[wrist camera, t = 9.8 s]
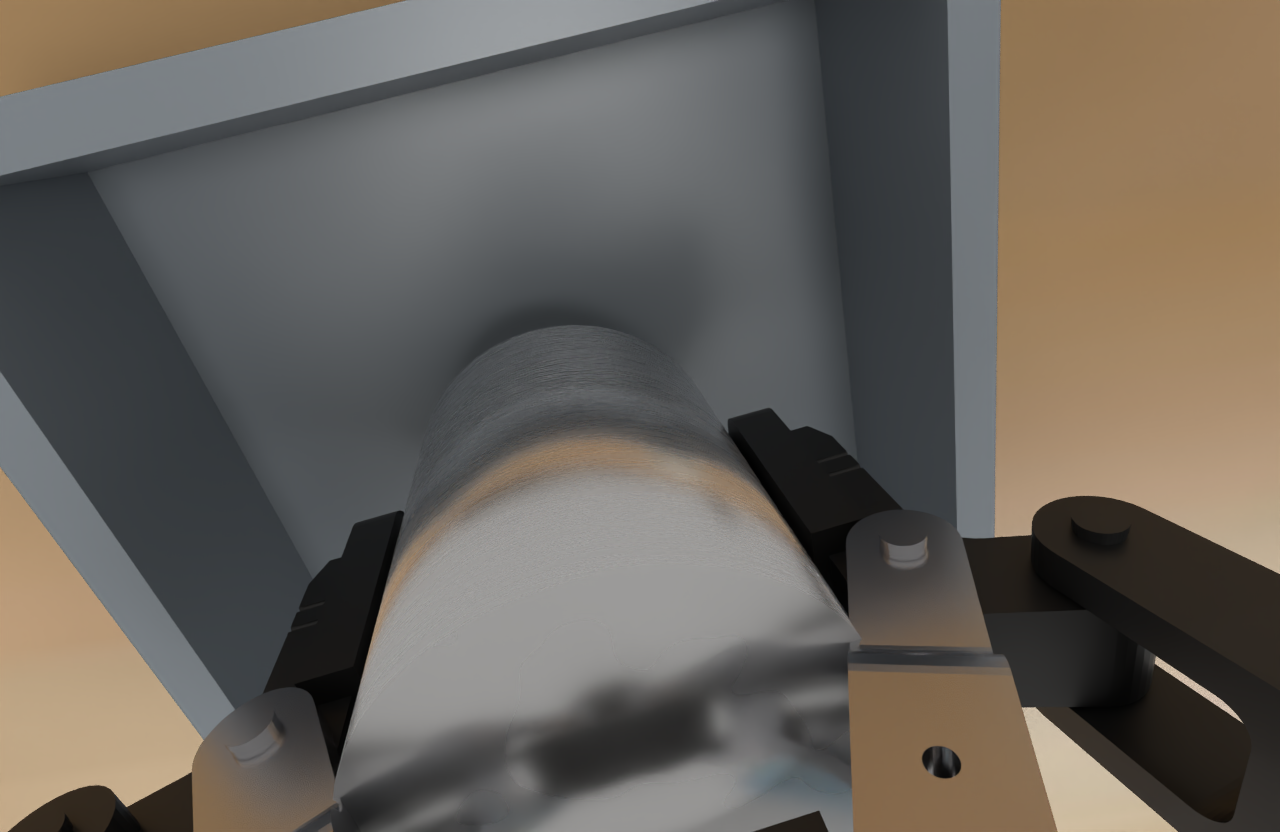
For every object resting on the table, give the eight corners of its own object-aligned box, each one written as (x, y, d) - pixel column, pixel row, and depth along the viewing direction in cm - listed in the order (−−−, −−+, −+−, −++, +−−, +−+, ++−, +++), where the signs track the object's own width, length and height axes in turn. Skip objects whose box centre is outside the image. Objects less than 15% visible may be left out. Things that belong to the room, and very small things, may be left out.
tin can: (687, 289, 12) (879, 491, 6) (735, 541, 14) (907, 876, 8) (373, 373, 12) (214, 685, 5) (477, 616, 14) (452, 1025, 8)
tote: (827, -54, 14) (1001, -141, 9) (877, 551, 21) (992, 690, 16) (49, 134, 13) (-235, 152, 8) (370, 702, 20) (322, 901, 15)
